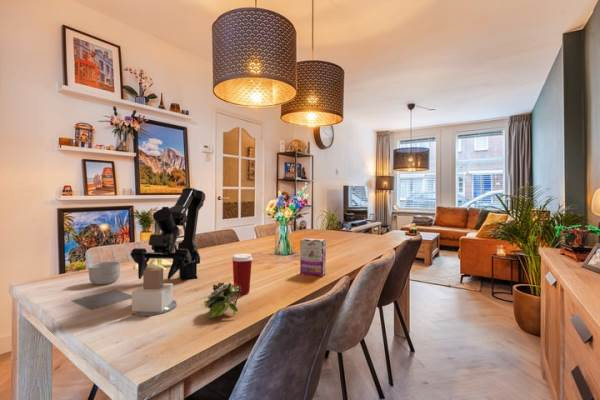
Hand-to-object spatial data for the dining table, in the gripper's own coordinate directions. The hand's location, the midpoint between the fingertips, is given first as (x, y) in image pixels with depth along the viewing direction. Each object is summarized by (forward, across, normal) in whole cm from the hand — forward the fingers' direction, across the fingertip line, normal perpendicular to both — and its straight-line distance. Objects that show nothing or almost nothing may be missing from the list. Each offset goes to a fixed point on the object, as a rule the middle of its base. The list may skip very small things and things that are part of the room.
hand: (153, 278), depth 98 cm
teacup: (-11, -30, +25) cm, 41 cm away
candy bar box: (-22, +55, +36) cm, 69 cm away
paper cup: (-4, +26, +17) cm, 31 cm away
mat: (+3, -19, +10) cm, 22 cm away
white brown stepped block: (+7, 0, +6) cm, 9 cm away
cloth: (-29, -21, +44) cm, 57 cm away
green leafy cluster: (+10, +24, +3) cm, 26 cm away
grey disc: (+7, 0, +6) cm, 9 cm away
